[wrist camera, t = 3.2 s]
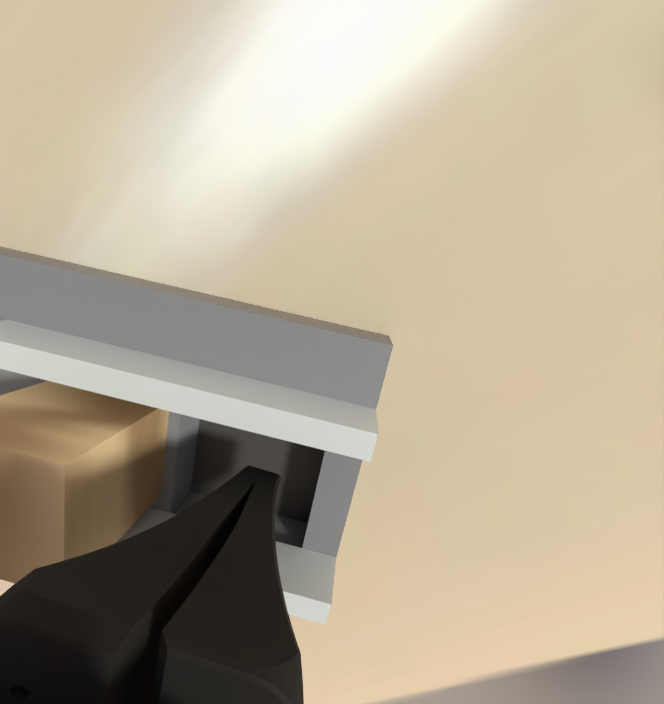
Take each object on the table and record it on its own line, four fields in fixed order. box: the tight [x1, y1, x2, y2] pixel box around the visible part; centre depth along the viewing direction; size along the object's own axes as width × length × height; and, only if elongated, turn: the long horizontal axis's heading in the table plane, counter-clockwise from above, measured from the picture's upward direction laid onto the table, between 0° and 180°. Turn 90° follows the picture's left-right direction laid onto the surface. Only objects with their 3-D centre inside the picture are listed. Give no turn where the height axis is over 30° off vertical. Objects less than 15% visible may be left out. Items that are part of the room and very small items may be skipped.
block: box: [0, 381, 169, 583], centre depth 11 cm, size 4×4×4 cm
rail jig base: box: [0, 247, 393, 625], centre depth 13 cm, size 23×13×4 cm, turn 78°
